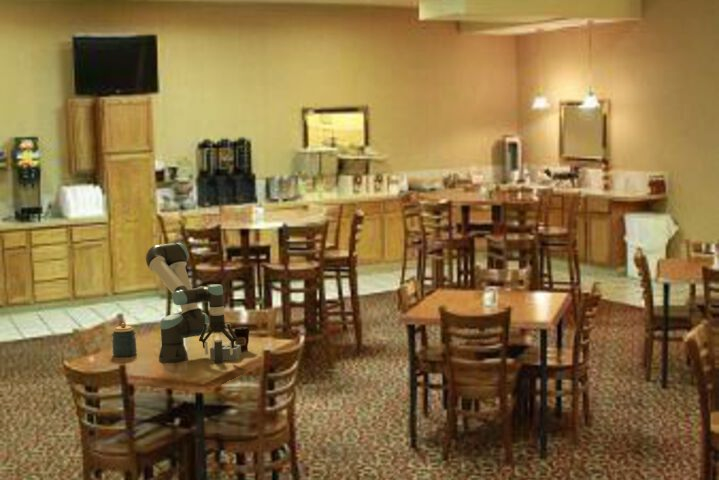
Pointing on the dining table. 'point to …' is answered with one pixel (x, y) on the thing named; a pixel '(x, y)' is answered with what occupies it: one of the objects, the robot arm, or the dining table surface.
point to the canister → (124, 341)
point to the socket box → (227, 352)
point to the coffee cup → (242, 337)
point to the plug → (218, 351)
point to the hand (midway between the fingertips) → (218, 354)
